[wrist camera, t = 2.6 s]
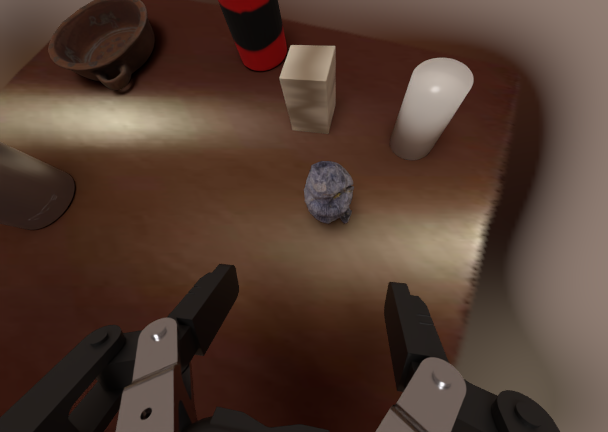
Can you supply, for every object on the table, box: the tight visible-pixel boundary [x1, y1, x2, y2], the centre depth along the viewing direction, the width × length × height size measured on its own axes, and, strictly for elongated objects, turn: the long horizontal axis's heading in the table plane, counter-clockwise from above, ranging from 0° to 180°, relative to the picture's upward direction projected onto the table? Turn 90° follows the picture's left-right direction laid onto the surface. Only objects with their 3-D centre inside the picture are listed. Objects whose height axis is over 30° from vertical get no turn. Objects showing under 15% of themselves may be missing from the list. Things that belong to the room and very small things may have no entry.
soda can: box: [218, 0, 287, 71], centre depth 32 cm, size 8×8×12 cm
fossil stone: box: [304, 161, 354, 224], centre depth 22 cm, size 5×5×10 cm
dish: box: [48, 0, 155, 90], centre depth 40 cm, size 18×22×5 cm
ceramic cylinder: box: [390, 58, 473, 160], centre depth 24 cm, size 5×5×9 cm
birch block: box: [279, 45, 335, 134], centre depth 28 cm, size 5×5×8 cm
